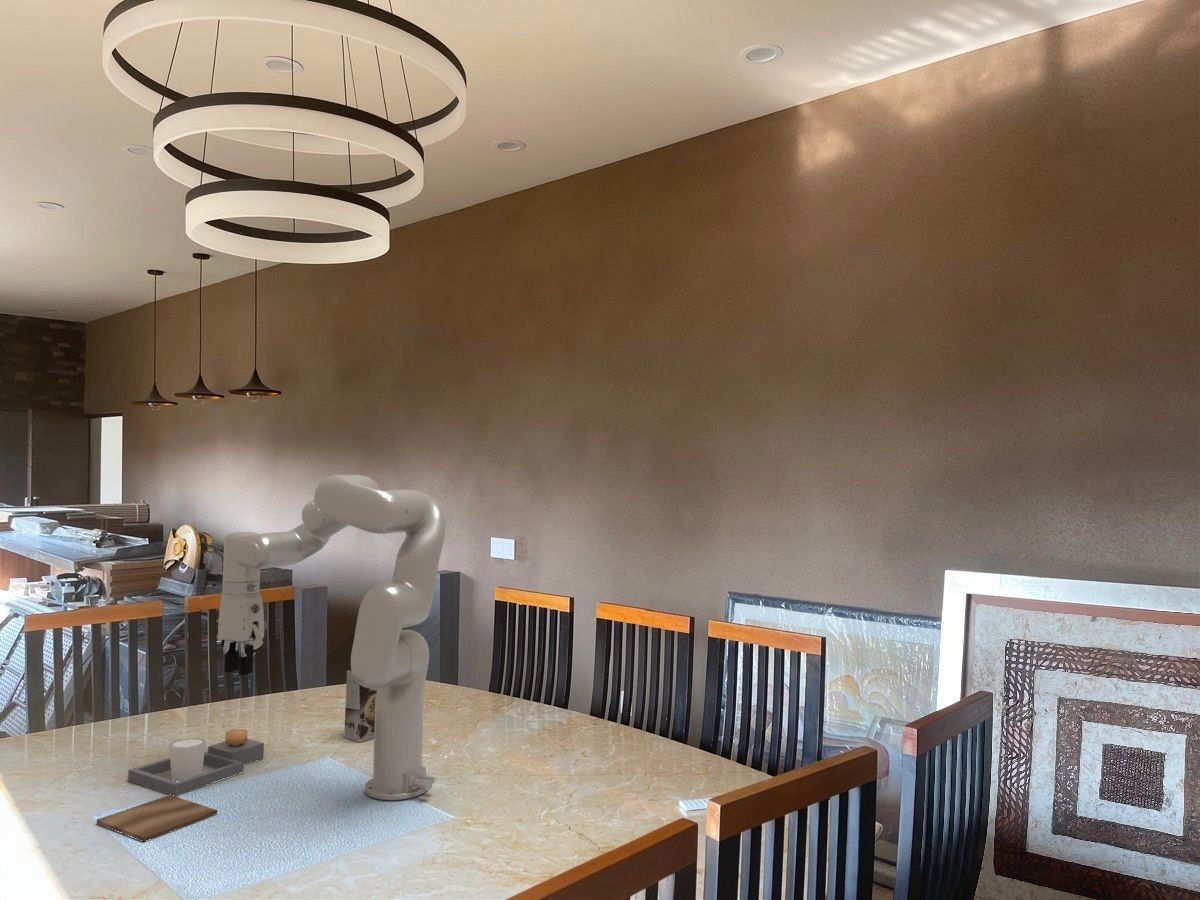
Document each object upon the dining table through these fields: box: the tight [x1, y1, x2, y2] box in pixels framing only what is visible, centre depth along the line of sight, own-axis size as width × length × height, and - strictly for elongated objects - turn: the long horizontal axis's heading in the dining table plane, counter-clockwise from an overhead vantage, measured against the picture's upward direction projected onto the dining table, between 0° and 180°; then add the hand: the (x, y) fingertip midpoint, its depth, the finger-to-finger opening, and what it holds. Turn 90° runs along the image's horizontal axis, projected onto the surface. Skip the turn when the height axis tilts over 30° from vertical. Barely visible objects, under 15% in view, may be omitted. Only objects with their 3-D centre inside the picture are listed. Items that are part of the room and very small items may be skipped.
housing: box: [127, 738, 265, 797], centre depth 179 cm, size 15×23×4 cm, turn 150°
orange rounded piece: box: [224, 728, 248, 747], centre depth 186 cm, size 4×4×4 cm
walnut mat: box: [96, 794, 218, 842], centre depth 154 cm, size 14×14×1 cm
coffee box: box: [343, 669, 378, 743], centre depth 205 cm, size 9×6×16 cm
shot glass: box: [168, 737, 207, 781], centre depth 175 cm, size 7×7×7 cm
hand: (238, 671), depth 186 cm, fingers open, 3 cm apart
